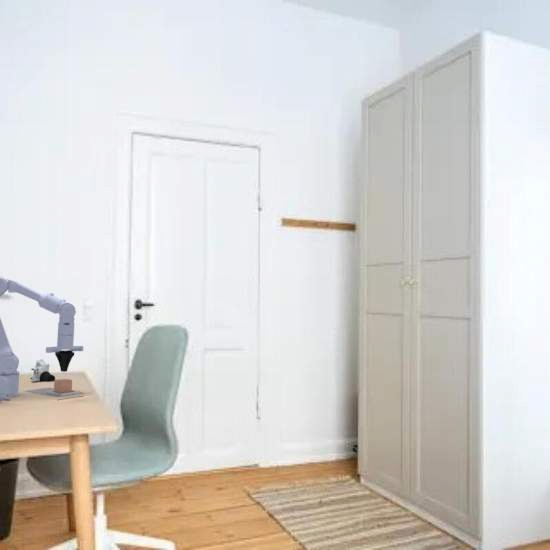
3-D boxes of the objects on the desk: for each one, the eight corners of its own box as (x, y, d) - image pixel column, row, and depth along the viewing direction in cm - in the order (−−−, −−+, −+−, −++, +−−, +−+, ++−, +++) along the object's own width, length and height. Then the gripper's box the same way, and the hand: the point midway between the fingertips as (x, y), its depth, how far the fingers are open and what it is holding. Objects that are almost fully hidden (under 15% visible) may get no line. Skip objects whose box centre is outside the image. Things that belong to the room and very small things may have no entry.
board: (84, 396, 214) (84, 392, 214) (57, 400, 203) (57, 396, 203) (49, 390, 224) (49, 387, 224) (22, 394, 213) (22, 390, 214)
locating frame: (79, 393, 212) (80, 391, 212) (61, 396, 205) (61, 393, 205) (64, 390, 217) (65, 388, 217) (45, 393, 209) (45, 391, 209)
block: (71, 393, 211) (72, 380, 212) (60, 394, 208) (61, 381, 208) (64, 392, 214) (65, 378, 214) (53, 393, 211) (54, 379, 211)
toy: (39, 362, 254) (59, 357, 246) (37, 389, 250) (57, 384, 242) (26, 361, 249) (46, 355, 241) (24, 388, 245) (44, 383, 237)
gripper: (76, 333, 220) (74, 369, 220) (41, 334, 209) (39, 371, 208) (87, 334, 216) (85, 370, 215) (52, 335, 204) (50, 373, 204)
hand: (63, 371), depth 211 cm, fingers closed
